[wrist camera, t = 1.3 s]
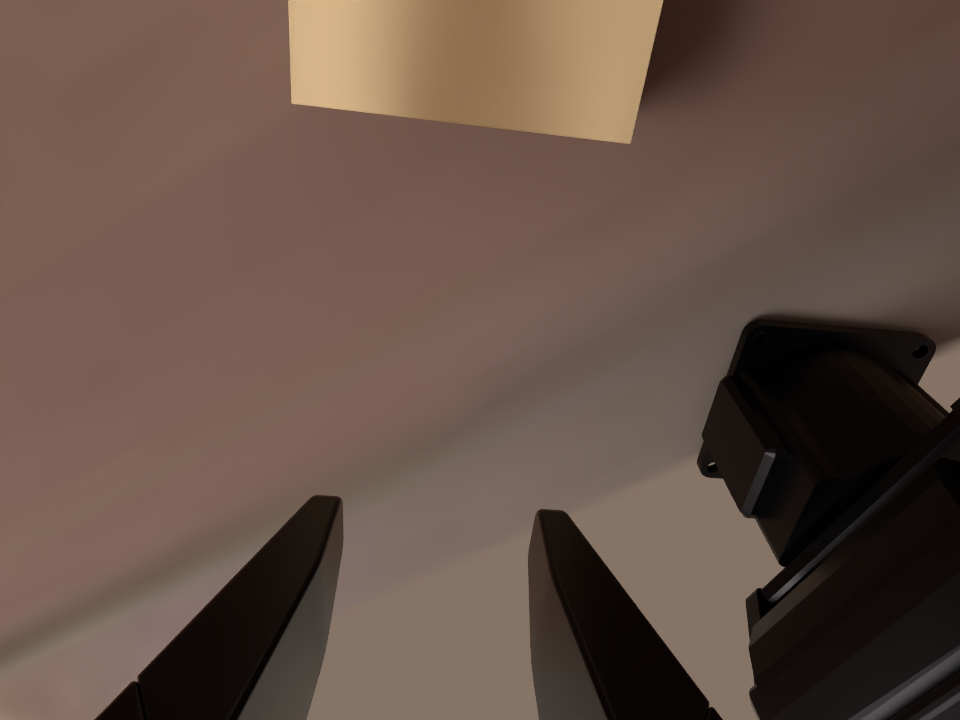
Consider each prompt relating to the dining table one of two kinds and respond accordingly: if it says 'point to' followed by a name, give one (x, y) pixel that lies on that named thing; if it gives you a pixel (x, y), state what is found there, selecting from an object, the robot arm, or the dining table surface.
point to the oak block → (478, 61)
